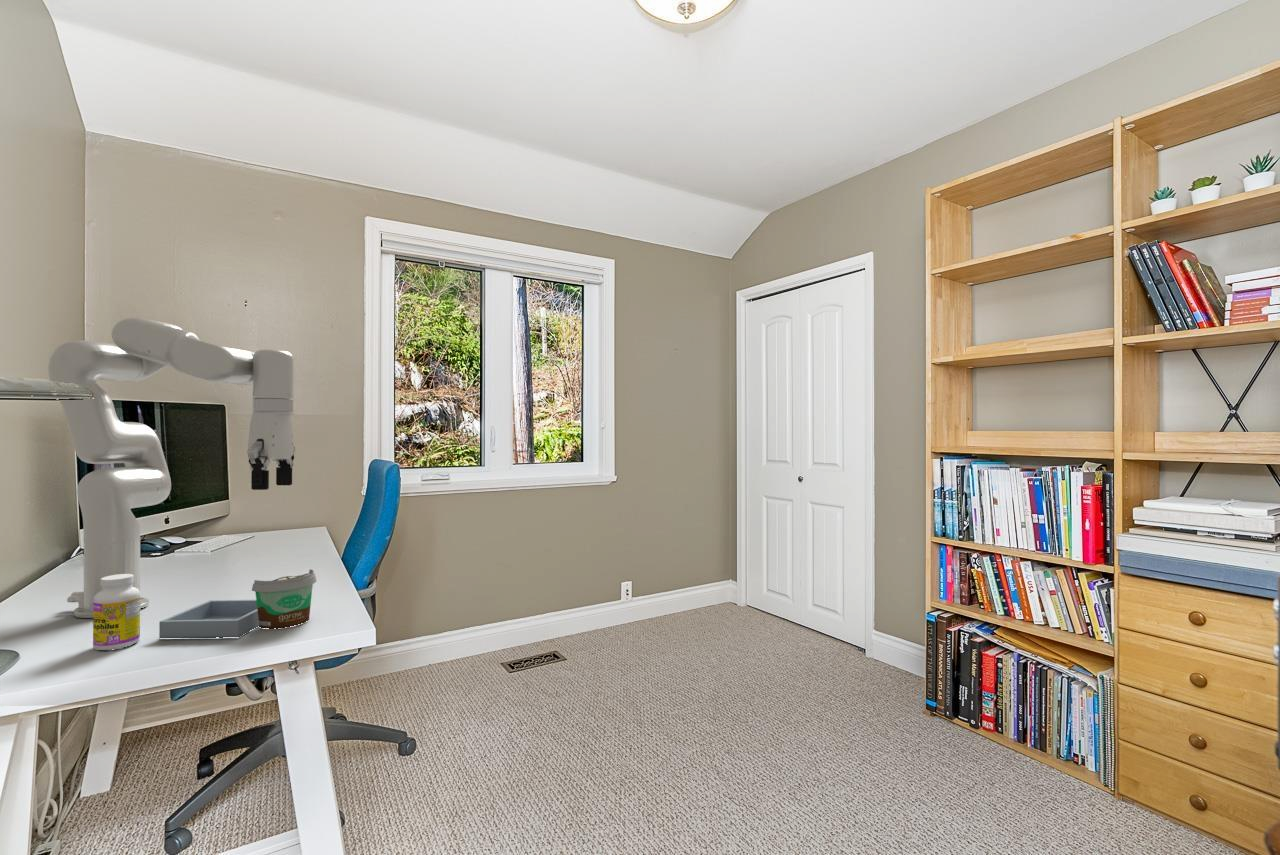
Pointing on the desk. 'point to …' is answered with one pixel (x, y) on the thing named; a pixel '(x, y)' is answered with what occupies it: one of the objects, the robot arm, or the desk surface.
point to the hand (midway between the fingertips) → (272, 487)
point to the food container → (284, 600)
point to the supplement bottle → (116, 613)
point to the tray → (212, 620)
